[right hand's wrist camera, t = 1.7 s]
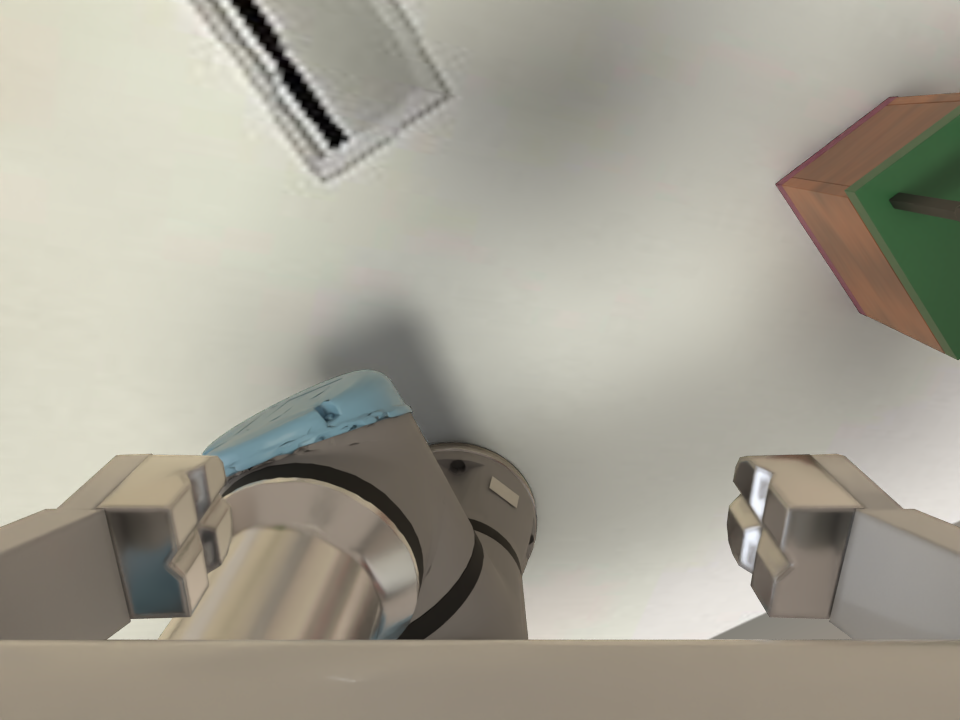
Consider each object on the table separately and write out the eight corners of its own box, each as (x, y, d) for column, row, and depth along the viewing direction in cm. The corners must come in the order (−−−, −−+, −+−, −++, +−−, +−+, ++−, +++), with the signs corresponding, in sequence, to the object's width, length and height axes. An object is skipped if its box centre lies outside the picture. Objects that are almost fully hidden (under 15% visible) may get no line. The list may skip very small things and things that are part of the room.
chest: (775, 184, 49) (847, 197, 39) (889, 97, 47) (995, 88, 37) (859, 312, 52) (945, 354, 43) (969, 237, 50) (1085, 263, 41)
